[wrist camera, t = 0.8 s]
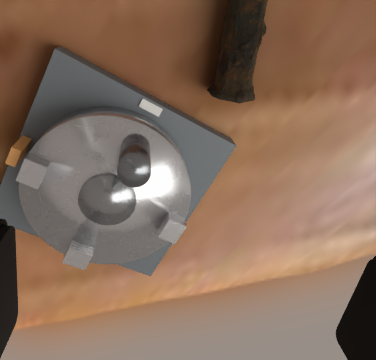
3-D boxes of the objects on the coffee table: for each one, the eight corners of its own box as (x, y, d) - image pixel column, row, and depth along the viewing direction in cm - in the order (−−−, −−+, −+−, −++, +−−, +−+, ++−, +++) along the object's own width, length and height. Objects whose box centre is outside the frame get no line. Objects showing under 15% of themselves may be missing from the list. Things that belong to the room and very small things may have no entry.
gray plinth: (-6, 207, 36) (-27, 236, 31) (60, 46, 29) (45, 52, 25) (150, 264, 41) (151, 295, 37) (231, 138, 35) (244, 157, 31)
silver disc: (6, 213, 34) (-30, 268, 26) (65, 74, 29) (39, 97, 21) (144, 263, 38) (145, 321, 31) (215, 152, 33) (235, 192, 26)
